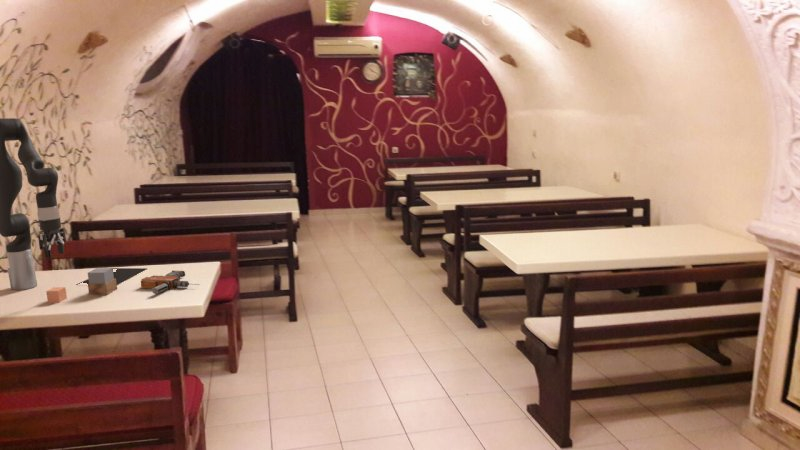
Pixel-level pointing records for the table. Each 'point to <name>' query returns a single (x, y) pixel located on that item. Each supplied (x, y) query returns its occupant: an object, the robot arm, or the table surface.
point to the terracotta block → (56, 294)
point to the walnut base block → (102, 288)
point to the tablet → (123, 274)
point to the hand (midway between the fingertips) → (55, 256)
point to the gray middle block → (100, 275)
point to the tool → (164, 281)
